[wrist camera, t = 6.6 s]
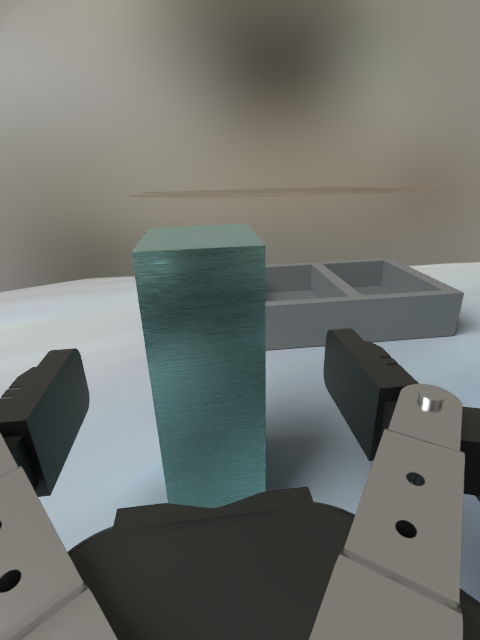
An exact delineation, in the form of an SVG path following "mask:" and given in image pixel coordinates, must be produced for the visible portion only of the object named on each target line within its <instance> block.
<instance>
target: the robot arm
mask: <svg viewBox="0 0 480 640" xmlns="http://www.w3.org/2000/svg"><path fill="white" fill-rule="evenodd" d="M324 381H325V385H326V388H327V390H328V392H329V393H330V395H331V397H332V399H333V400H334V402H335V404H336V405H337V407H338V409H339V410H340V412H341V414H342V415H343V417H344V419H345V421H346V422H347V424H348V426H349V427H350V429H351V431H352V432H353V434H354V436H355V438H356V439H357V441H358V443H359V444H360V446H361V448H362V449H363V451H364V453H365V454H366V456H367V458H368V460H369V461H373V464H372V467H371V470H370V473H369V476H368V479H367V482H366V485H365V488H364V491H363V494H362V497H361V500H360V503H359V506H358V509H357V512H356V514H355V515H354V514H352V513H350V512H348V511H345V510H343V509H341V508H338V507H335V506H332V505H328V504H323V503H318V502H313V499H312V497H311V494H310V491H309V488H308V487H300V488H292V489H283V490H274V491H266V492H261V493H258V494H255V495H253V496H250V497H247V498H244V499H241V500H239V501H236V502H233V503H230V504H227V505H224V506H222V507H218V508H205V507H196V506H187V505H178V504H169V503H163V504H154V505H146V506H137V507H129V508H120V509H117V513H116V517H115V522H114V526H112V527H110V528H107V529H105V530H102V531H100V532H98V533H96V534H94V535H92V536H91V537H89V538H87V539H85V540H84V541H82V542H81V543H79V544H78V545H76V546H75V547H73V548H72V549H71V550H69V551H68V552H67V551H66V549H65V547H64V545H63V543H62V541H61V540H60V538H59V536H58V534H57V532H56V530H55V528H54V526H53V525H52V523H51V521H50V519H49V517H48V515H47V513H46V511H45V509H44V508H43V506H42V504H41V502H40V500H39V498H38V497H41V496H50V495H51V493H52V491H53V488H54V486H55V484H56V482H57V479H58V477H59V475H60V472H61V470H62V468H63V466H64V463H65V461H66V459H67V457H68V454H69V452H70V450H71V447H72V445H73V443H74V441H75V438H76V436H77V434H78V432H79V429H80V427H81V425H82V423H83V420H84V418H85V416H86V413H87V411H88V408H89V390H88V386H87V381H86V377H85V373H84V368H83V364H82V360H81V356H80V353H79V351H78V350H77V349H63V350H51V351H49V352H48V353H47V355H46V356H45V357H44V359H43V360H42V361H41V362H40V364H39V365H38V366H37V367H32V368H31V369H29V370H28V371H26V372H25V373H23V374H22V375H20V376H19V377H17V379H16V380H15V381H14V382H13V383H12V384H11V386H10V387H9V390H6V392H5V393H4V394H3V395H2V396H1V397H2V398H1V399H0V640H480V602H478V601H477V600H476V599H474V598H473V597H471V596H470V595H469V594H467V593H466V592H464V591H463V590H462V589H460V568H461V543H462V518H463V493H464V494H470V495H475V496H476V497H477V499H478V500H479V501H480V409H479V408H469V407H462V403H461V401H460V400H459V399H458V398H457V397H456V396H455V395H453V394H452V393H450V392H448V391H447V390H444V389H442V388H439V387H436V386H432V385H427V384H419V383H418V382H417V381H416V380H415V379H414V378H413V377H412V376H411V375H409V374H408V373H407V372H406V371H405V370H404V369H403V368H402V367H401V366H400V365H398V363H397V362H396V361H395V360H394V359H393V358H391V356H390V355H389V354H388V353H387V352H386V351H385V350H384V349H383V348H382V347H380V346H377V345H375V344H373V343H371V342H369V341H364V340H363V339H362V338H361V337H360V336H359V335H358V334H357V333H356V332H355V331H354V330H353V329H352V328H345V329H332V330H328V332H327V335H326V345H325V359H324Z"/></svg>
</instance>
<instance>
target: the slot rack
mask: <svg viewBox="0 0 480 640" xmlns="http://www.w3.org/2000/svg"><path fill="white" fill-rule="evenodd" d="M463 295H464V293H463V292H461V291H459V290H457V289H455V288H453V287H451V286H448V285H446V284H444V283H442V282H440V281H438V280H436V279H434V278H431V277H429V276H427V275H425V274H423V273H421V272H419V271H417V270H415V269H412V268H410V267H408V266H406V265H403V264H402V263H400V262H398V261H396V260H393V259H391V258H380V259H363V260H345V261H328V262H310V263H293V264H275V265H265V350H274V349H287V348H300V347H313V346H325V345H326V335H327V332H328V330H332V329H345V328H352V329H353V330H354V331H355V332H356V333H357V334H358V335H359V336H360V337H361V338H362V339H363V340H364V341H369V342H377V341H390V340H403V339H416V338H429V337H442V336H454V335H455V331H456V326H457V322H458V317H459V313H460V308H461V304H462V299H463Z"/></svg>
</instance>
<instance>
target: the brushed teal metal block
mask: <svg viewBox="0 0 480 640" xmlns="http://www.w3.org/2000/svg"><path fill="white" fill-rule="evenodd" d="M132 259H133V266H134V272H135V279H136V286H137V293H138V300H139V307H140V313H141V320H142V327H143V334H144V341H145V347H146V354H147V361H148V368H149V375H150V381H151V388H152V395H153V402H154V409H155V416H156V422H157V429H158V436H159V443H160V450H161V456H162V463H163V470H164V477H165V484H166V490H167V497H168V503H169V504H178V505H187V506H196V507H205V508H218V507H222V506H224V505H227V504H230V503H233V502H236V501H239V500H241V499H244V498H247V497H250V496H253V495H255V494H258V493H261V492H266V367H265V245H264V243H263V242H262V241H261V240H260V239H259V238H258V236H257V235H256V234H255V233H254V232H253V231H252V229H251V228H250V227H249V226H248V225H247V224H231V225H208V226H187V227H165V228H150V229H149V230H148V231H147V233H146V234H145V235H144V237H143V238H142V239H141V240H140V242H139V243H138V244H137V246H136V247H135V249H133V251H132Z"/></svg>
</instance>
